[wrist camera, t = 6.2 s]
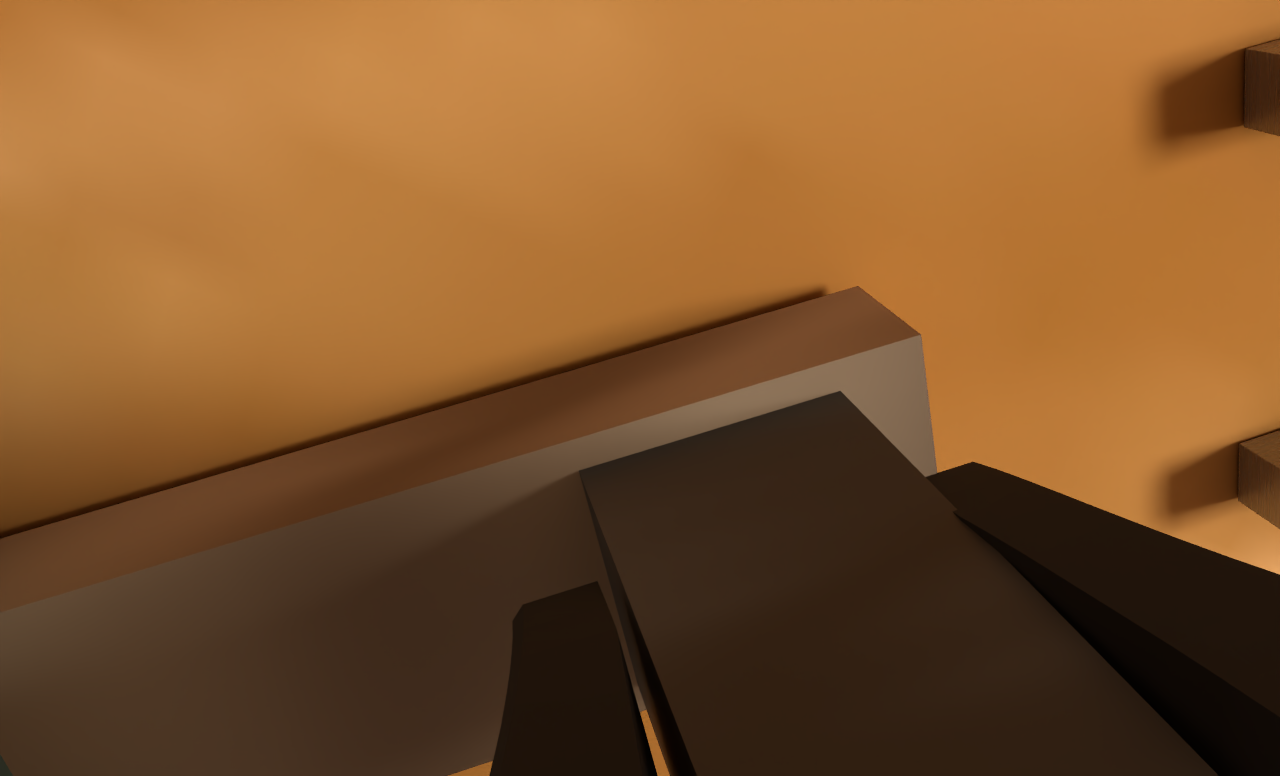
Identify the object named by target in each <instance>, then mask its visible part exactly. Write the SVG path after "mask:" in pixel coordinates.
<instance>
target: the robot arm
mask: <svg viewBox="0 0 1280 776" xmlns="http://www.w3.org/2000/svg"><path fill="white" fill-rule="evenodd" d="M926 478H927V479H928V480H929V481H930V482H931V483H932V484H933V485H934V486H935V487H936V488H937V489H938V490H939V491H940V492H941V493H942V495H943V496H944V497H945V498H946V499H947V500H948V501H949V502H950V503H951V504H952V505H953V506H954V507H955V508H956V509H957V510H956V511H952V512H953V513H954V514H955V515H956V516H957V517H958V518H959V519H960V520H961V521H962V522H963V523H965V524H966V525H967V526H968V527H969V528H971V529H972V530H973V531H974V532H975V533H977V534H978V535H979V536H980V537H981V538H983V539H984V540H985V541H986V542H987V543H989V544H990V545H991V546H992V547H993V548H995V549H996V550H997V551H998V552H999V553H1000V554H1001V555H1002V556H1003V557H1004V558H1005V559H1006V560H1007V561H1008V562H1009V563H1010V564H1011V565H1012V566H1013V567H1014V568H1015V569H1016V570H1017V571H1018V572H1019V573H1020V574H1021V575H1022V576H1023V577H1024V578H1025V579H1026V580H1027V581H1028V582H1029V583H1030V584H1031V585H1032V586H1033V587H1034V588H1035V589H1036V590H1037V591H1038V592H1039V593H1040V594H1041V595H1042V596H1043V597H1044V598H1045V599H1046V600H1047V601H1048V602H1049V603H1050V604H1051V605H1052V606H1053V607H1054V608H1055V609H1056V610H1057V612H1058V613H1059V614H1060V615H1061V616H1062V617H1063V618H1064V619H1065V620H1066V621H1067V622H1068V623H1069V624H1070V625H1071V626H1072V627H1073V628H1074V629H1075V630H1076V631H1077V632H1078V633H1079V634H1080V635H1081V636H1082V637H1083V638H1084V639H1085V640H1086V641H1087V642H1088V643H1089V644H1090V645H1091V646H1092V647H1093V648H1094V649H1095V650H1096V651H1097V652H1098V653H1099V654H1100V655H1101V656H1102V657H1103V658H1104V659H1105V660H1106V661H1107V662H1108V663H1109V664H1110V665H1111V666H1112V667H1113V668H1114V669H1115V671H1116V672H1117V673H1118V674H1119V675H1120V676H1121V677H1122V678H1123V679H1124V680H1125V681H1126V682H1127V683H1128V684H1129V685H1130V686H1131V687H1132V688H1133V689H1134V690H1135V691H1136V692H1137V693H1138V694H1139V695H1140V696H1141V697H1142V698H1143V699H1144V700H1145V701H1146V702H1147V703H1148V704H1149V705H1150V706H1151V707H1152V708H1153V709H1154V710H1155V711H1156V712H1157V713H1158V714H1159V715H1160V716H1161V717H1162V718H1163V719H1164V720H1165V721H1166V722H1167V723H1168V724H1169V725H1170V726H1171V727H1172V728H1173V730H1174V731H1175V732H1176V733H1177V734H1178V735H1179V736H1180V737H1181V738H1182V739H1183V740H1184V741H1185V742H1186V743H1187V744H1188V745H1189V746H1190V747H1191V748H1192V749H1193V750H1194V751H1195V752H1196V753H1197V754H1198V755H1199V756H1200V757H1201V758H1202V759H1203V760H1204V761H1205V762H1206V763H1207V764H1208V765H1209V766H1210V767H1211V768H1212V769H1213V770H1214V771H1215V772H1216V773H1217V774H1218V775H1219V776H1280V575H1279V574H1276V573H1273V572H1270V571H1267V570H1265V569H1262V568H1259V567H1256V566H1253V565H1250V564H1247V563H1244V562H1241V561H1238V560H1235V559H1233V558H1230V557H1227V556H1224V555H1222V554H1219V553H1216V552H1213V551H1210V550H1208V549H1205V548H1202V547H1199V546H1197V545H1194V544H1191V543H1189V542H1186V541H1183V540H1181V539H1178V538H1175V537H1172V536H1170V535H1167V534H1164V533H1162V532H1159V531H1156V530H1154V529H1151V528H1149V527H1146V526H1143V525H1141V524H1138V523H1135V522H1133V521H1130V520H1128V519H1125V518H1122V517H1120V516H1117V515H1115V514H1112V513H1110V512H1107V511H1104V510H1102V509H1099V508H1097V507H1094V506H1092V505H1089V504H1086V503H1084V502H1081V501H1079V500H1076V499H1074V498H1071V497H1068V496H1066V495H1063V494H1061V493H1058V492H1056V491H1053V490H1050V489H1048V488H1045V487H1043V486H1040V485H1037V484H1035V483H1032V482H1030V481H1027V480H1024V479H1022V478H1019V477H1016V476H1014V475H1011V474H1008V473H1005V472H1003V471H1000V470H997V469H994V468H991V467H988V466H985V465H982V464H979V463H975V462H971V463H968V464H964V465H961V466H958V467H955V468H952V469H949V470H946V471H942V472H939V473H936V474H933V475H930V476H927V477H926ZM512 630H513V639H512V653H511V664H510V673H509V680H508V687H507V693H506V699H505V705H504V711H503V716H502V722H501V728H500V733H499V737H498V741H497V746H496V750H495V754H494V759H493V763H492V767H491V772H490V776H657V772H656V769H655V765H654V761H653V758H652V754H651V751H650V747H649V743H648V740H647V736H646V733H645V729H644V725H643V722H642V718H641V715H640V711H639V707H638V704H637V700H636V697H635V693H634V690H633V686H632V682H631V679H630V675H629V672H628V668H627V664H626V661H625V657H624V654H623V650H622V646H621V643H620V639H619V636H618V632H617V628H616V626H615V623H614V621H613V618H612V616H611V613H610V610H609V608H608V605H607V603H606V600H605V598H604V596H603V593H602V591H601V588H600V586H599V583H598V581H595V582H592V583H589V584H586V585H583V586H580V587H576V588H573V589H570V590H567V591H564V592H561V593H558V594H554V595H551V596H548V597H545V598H542V599H539V600H535V601H532V602H529V603H526V604H523V605H522V606H521V608H520V610H519V611H518V613H517V614H516V616H515V617H514V619H513V621H512Z"/></svg>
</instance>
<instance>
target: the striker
mask: <svg viewBox="0 0 1280 776" xmlns="http://www.w3.org/2000/svg"><path fill="white" fill-rule="evenodd" d="M936 473H937V467H936V458H935V450H934V441H933V433H932V424H931V416H930V407H929V399H928V390H927V382H926V373H925V365H924V356H923V348H922V339H921V334H920V333H918V332H917V331H916V330H914V329H913V328H912V327H910V326H909V325H908V324H907V323H905V322H904V321H903V320H901V319H900V318H899V317H898V316H896V315H895V314H894V313H892V312H891V311H890V310H888V309H887V308H886V307H885V306H883V305H882V304H881V303H879V302H878V301H877V300H876V299H874V298H873V297H872V296H870V295H869V294H868V293H866V292H865V291H864V290H863V289H861V288H860V287H859V286H857V287H853V288H850V289H846V290H843V291H840V292H836V293H833V294H829V295H826V296H823V297H819V298H816V299H812V300H809V301H806V302H802V303H799V304H795V305H792V306H789V307H785V308H782V309H778V310H775V311H772V312H768V313H765V314H762V315H758V316H755V317H751V318H748V319H745V320H741V321H738V322H734V323H731V324H728V325H724V326H721V327H717V328H714V329H711V330H707V331H704V332H700V333H697V334H694V335H690V336H687V337H683V338H680V339H677V340H673V341H670V342H666V343H663V344H660V345H656V346H653V347H649V348H646V349H643V350H639V351H636V352H632V353H629V354H626V355H622V356H619V357H615V358H612V359H609V360H605V361H602V362H599V363H595V364H592V365H588V366H585V367H582V368H578V369H575V370H571V371H568V372H565V373H561V374H558V375H554V376H551V377H548V378H544V379H541V380H537V381H534V382H531V383H527V384H524V385H520V386H517V387H514V388H510V389H507V390H503V391H500V392H497V393H493V394H490V395H486V396H483V397H480V398H476V399H473V400H469V401H466V402H463V403H459V404H456V405H453V406H449V407H446V408H442V409H439V410H436V411H432V412H429V413H425V414H422V415H419V416H415V417H412V418H408V419H405V420H402V421H398V422H395V423H391V424H388V425H385V426H381V427H378V428H374V429H371V430H368V431H364V432H361V433H357V434H354V435H351V436H347V437H344V438H340V439H337V440H334V441H330V442H327V443H323V444H320V445H317V446H313V447H310V448H307V449H303V450H300V451H296V452H293V453H290V454H286V455H283V456H279V457H276V458H273V459H269V460H266V461H262V462H259V463H256V464H252V465H249V466H245V467H242V468H239V469H235V470H232V471H228V472H225V473H222V474H218V475H215V476H211V477H208V478H205V479H201V480H198V481H194V482H191V483H188V484H184V485H181V486H177V487H174V488H171V489H167V490H164V491H161V492H157V493H154V494H150V495H147V496H144V497H140V498H137V499H133V500H130V501H127V502H123V503H120V504H116V505H113V506H110V507H106V508H103V509H99V510H96V511H93V512H89V513H86V514H82V515H79V516H76V517H72V518H69V519H65V520H62V521H59V522H55V523H52V524H48V525H45V526H42V527H38V528H35V529H31V530H28V531H25V532H21V533H18V534H15V535H11V536H8V537H4V538H1V539H0V776H448V775H451V774H454V773H457V772H460V771H463V770H466V769H469V768H472V767H475V766H478V765H481V764H484V763H487V762H490V761H493V759H494V754H495V750H496V746H497V741H498V737H499V733H500V728H501V722H502V716H503V711H504V705H505V699H506V693H507V687H508V680H509V673H510V664H511V653H512V639H513V630H512V621H513V619H514V617H515V616H516V614H517V613H518V611H519V610H520V608H521V606H522V605H523V604H526V603H529V602H532V601H535V600H539V599H542V598H545V597H548V596H551V595H554V594H558V593H561V592H564V591H567V590H570V589H573V588H576V587H580V586H583V585H586V584H589V583H592V582H595V581H598V583H599V586H600V588H601V591H602V593H603V596H604V598H605V600H606V603H607V605H608V608H609V610H610V613H611V616H612V618H613V621H614V623H615V626H616V628H617V632H618V636H619V639H620V643H621V646H622V650H623V654H624V657H625V661H626V664H627V668H628V672H629V675H630V679H631V682H632V686H633V690H634V693H635V697H636V700H637V704H638V707H639V711H643V710H646V709H647V712H648V715H649V718H650V721H651V723H652V726H653V729H654V732H655V735H656V737H657V740H658V743H659V746H660V749H661V751H662V754H663V757H664V760H665V763H666V765H667V768H668V771H669V774H670V776H1219V775H1218V774H1217V773H1216V772H1215V771H1214V770H1213V769H1212V768H1211V767H1210V766H1209V765H1208V764H1207V763H1206V762H1205V761H1204V760H1203V759H1202V758H1201V757H1200V756H1199V755H1198V754H1197V753H1196V752H1195V751H1194V750H1193V749H1192V748H1191V747H1190V746H1189V745H1188V744H1187V743H1186V742H1185V741H1184V740H1183V739H1182V738H1181V737H1180V736H1179V735H1178V734H1177V733H1176V732H1175V731H1174V730H1173V728H1172V727H1171V726H1170V725H1169V724H1168V723H1167V722H1166V721H1165V720H1164V719H1163V718H1162V717H1161V716H1160V715H1159V714H1158V713H1157V712H1156V711H1155V710H1154V709H1153V708H1152V707H1151V706H1150V705H1149V704H1148V703H1147V702H1146V701H1145V700H1144V699H1143V698H1142V697H1141V696H1140V695H1139V694H1138V693H1137V692H1136V691H1135V690H1134V689H1133V688H1132V687H1131V686H1130V685H1129V684H1128V683H1127V682H1126V681H1125V680H1124V679H1123V678H1122V677H1121V676H1120V675H1119V674H1118V673H1117V672H1116V671H1115V669H1114V668H1113V667H1112V666H1111V665H1110V664H1109V663H1108V662H1107V661H1106V660H1105V659H1104V658H1103V657H1102V656H1101V655H1100V654H1099V653H1098V652H1097V651H1096V650H1095V649H1094V648H1093V647H1092V646H1091V645H1090V644H1089V643H1088V642H1087V641H1086V640H1085V639H1084V638H1083V637H1082V636H1081V635H1080V634H1079V633H1078V632H1077V631H1076V630H1075V629H1074V628H1073V627H1072V626H1071V625H1070V624H1069V623H1068V622H1067V621H1066V620H1065V619H1064V618H1063V617H1062V616H1061V615H1060V614H1059V613H1058V612H1057V610H1056V609H1055V608H1054V607H1053V606H1052V605H1051V604H1050V603H1049V602H1048V601H1047V600H1046V599H1045V598H1044V597H1043V596H1042V595H1041V594H1040V593H1039V592H1038V591H1037V590H1036V589H1035V588H1034V587H1033V586H1032V585H1031V584H1030V583H1029V582H1028V581H1027V580H1026V579H1025V578H1024V577H1023V576H1022V575H1021V574H1020V573H1019V572H1018V571H1017V570H1016V569H1015V568H1014V567H1013V566H1012V565H1011V564H1010V563H1009V562H1008V561H1007V560H1006V559H1005V558H1004V557H1003V556H1002V555H1001V554H1000V553H999V552H998V551H997V550H996V549H995V548H993V547H992V546H991V545H990V544H989V543H987V542H986V541H985V540H984V539H983V538H981V537H980V536H979V535H978V534H977V533H975V532H974V531H973V530H972V529H971V528H969V527H968V526H967V525H966V524H965V523H963V522H962V521H961V520H960V519H959V518H958V517H957V516H956V515H955V514H954V513H953V512H952V511H956V510H957V509H956V508H955V507H954V506H953V505H952V504H951V503H950V502H949V501H948V500H947V499H946V498H945V497H944V496H943V495H942V493H941V492H940V491H939V490H938V489H937V488H936V487H935V486H934V485H933V484H932V483H931V482H930V481H929V480H928V479H927V478H926V477H927V476H930V475H933V474H936Z"/></svg>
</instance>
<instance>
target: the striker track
mask: <svg viewBox="0 0 1280 776" xmlns="http://www.w3.org/2000/svg"><path fill="white" fill-rule="evenodd" d="M1244 127H1246V128H1250V129H1254V130H1258V131H1262V132H1265V133H1269V134H1273V135H1277V136H1280V39H1279V40H1275V41H1272V42H1268V43H1265V44H1261V45H1257V46H1254V47H1250V48H1247V49H1245V106H1244ZM1238 501H1239V502H1241V503H1242V504H1244V505H1245V506H1247V507H1248V508H1250V509H1251V510H1253V511H1254V512H1256V513H1257V514H1259V515H1260V516H1261V517H1263V518H1264V519H1266V520H1267V521H1269V522H1270V523H1272V524H1273V525H1275V526H1276V527H1278V528H1279V529H1280V430H1279V431H1276V432H1273V433H1270V434H1267V435H1264V436H1261V437H1258V438H1255V439H1252V440H1249V441H1245V442H1242V443H1239V482H1238Z"/></svg>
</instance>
